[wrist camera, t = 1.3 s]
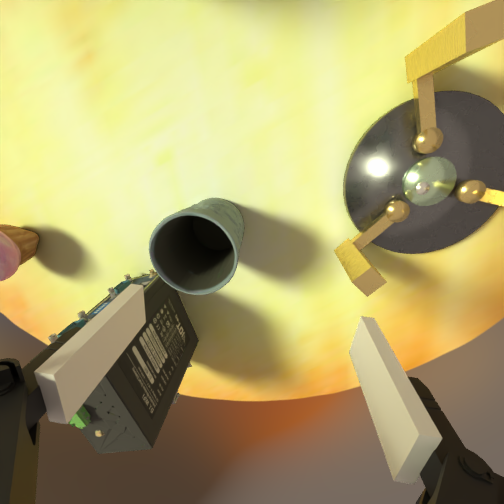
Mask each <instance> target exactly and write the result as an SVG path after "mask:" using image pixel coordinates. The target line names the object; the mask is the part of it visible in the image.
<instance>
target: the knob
mask: <svg viewBox="0 0 504 504" xmlns="http://www.w3.org/2000/svg"><path fill="white" fill-rule="evenodd" d="M409 213H410V208H409V205H408V204H407V203H405V202H403V201H401V200H392V201H390V202H388V203H387V204H386V205H385V207H384V210H383V213H382V214H381V215H380V216H379V217H378V218H376V219H375V220H374V221H373V222H372V223H371V224H369V225H368V226H367V227H366V228H365V229H363V230H362V231H361V232H360V233H359V234H358V235H356V236H355V237H354V238H353V239H352V240H350V239H349V238H348V239H347V240H346V241H344V242H343V243H342V244H341V245H340V246H339V247H337V248H336V249H335V250H334V251H335V253H336V255H337V257H338V258H339V260H340V262H341V264H342V266H343V267H344V269H345V271H346V273H347V275H348V276H349V278H350V280H351V282H352V283H353V284H354V285H355V286H356V287H357V288H359V289H360V290H361V291H362V292H363V293H364V294H365V295H366V296H367V297H368V296H369V295H370V294H372V293H373V292H374V291H376V290H377V289H378V288H380V287H381V286H382V285H384V284H385V283H386V280H385V279H384V278H383V277H382V276H381V274H380V273H379V272H378V271H377V270H376V268H375V267H374V266H373V265H372V264H371V262H370V261H369V260H368V259H367V257H366V256H365V255H364V254H363V253H362V251H361V249H362V248H364V247H365V246H366V245H367V244H368V243H370V242H371V241H372V240H373V239H375V238H376V237H377V236H378V235H379V234H381V233H382V232H383V231H384V230H385V229H387V228H388V227H389V226H390V225H392V224H393V223H394V222H395V223H398V222H401V221H403V220H405V219H406V218H407V217H408V215H409Z"/></svg>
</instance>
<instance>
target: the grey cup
mask: <svg viewBox="0 0 504 504" xmlns="http://www.w3.org/2000/svg"><path fill="white" fill-rule="evenodd" d="M243 234H244V221H243V217H242V215H241V213H240V212H239V210H238V209H237V208H236V207H235V206H234V205H233V204H232V203H230V202H228V201H226V200H224V199H220V198H209V199H205V200H203V201H201V202H199V203H198V204H194V205H192V206H191V207H189V208H186V209H183V210H181V211H179V212H177V213H174V214H172V215H170V216H168V217H166V218H165V219H163V220H162V221H161V222H160V223H159V224H158V225H157V227H156V228H155V229H154V231H153V233H152V235H151V238H150V243H149V254H150V259H151V262H152V264H153V267H154V268H155V270H156V272H157V273H158V275H159V276H160V277H161V278H162V279H163V280H164V281H165V282H166V283H167V284H169V285H170V286H171V287H173V288H175V289H177V290H179V291H181V292H184V293H187V294H193V295H206V294H209V293H213V292H215V291H217V290H219V289H221V288H222V287H223V286H225V285H226V284H227V283H228V282H229V281H230V280H231V278H232V277H233V275H234V273H235V271H236V268H237V264H238V257H239V250H240V246H241V243H242V238H243Z"/></svg>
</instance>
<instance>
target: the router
mask: <svg viewBox="0 0 504 504" xmlns="http://www.w3.org/2000/svg"><path fill="white" fill-rule="evenodd" d="M150 273H151V274H148V275H144V276H140V277H135V278H131V277H130V275H129V274H127V275H125V279H126V281H123V282H121V283H120V284H118V285H117V286H116V287H115V288H114V289H113V287H111V288H109V289H108V291H109V293H110V294H109V295H108V296H107V297H106V298H105V299H103V300H102V301H101V302H100V303H99V304H97V305H96V306H95V307H94V308H93V309H91V310H90V311H89V312H88V313H87V314H85V311H81V312H79V313H78V317H79V319H80V320H78V321H75V322H73V323H71V324H70V325H69V326H68V327H66V328H65V329H64V330H63V331H62V332H60V333H59V334H58V335H56V334H52V335H50V336H49V337H48V338H49V340H50V341H51V344H52V343H54V342H55V340H57V339H58V338H59V337H60V336H61V335H62V334H64V333H65V332H67V331H69V330H71V329H73V328H75V327H80V328H83V327H84V326H85V325H86V324H87V323H88V322H89V321H90V320H92V319H93V318H94V317H95V316H96V315H97V314H98V313H99V312H100V311H102V310H103V309H104V308H105V307H106V306H107V305H108V304H109V303H110V302H111V301H113V300H114V299H115V298H116V297H117V296H118V295H119V294H120V293H121V292H122V291H124V290H125V289H126V288H127V287H128V286H129V285H130V284H136V285H143V291H144V304H145V317H146V323H145V324H144V325H143V327H142V328H141V329H140V330H139V332H138V333H137V334H136V336H135V337H134V338H133V339H132V341H131V342H130V343H129V345H128V346H127V347H126V349H125V350H124V351H123V352H122V354H121V355H120V356H119V358H118V359H117V360H116V362H115V363H114V364H113V365H112V367H111V368H110V369H109V371H108V372H107V373H106V375H105V376H104V377H103V378H102V380H101V381H100V382H99V384H98V385H97V386H96V387H95V389H94V390H93V391H92V393H91V394H90V395H89V397H88V398H87V399H86V400H85V402H84V403H83V404H82V406H81V407H80V408H79V410H78V411H77V412H76V413H75V415H74V416H73V417H72V419H71V420H70V421H69V424H71V425H72V427H73V426H76V427H78V428H79V429H80V430H81V432H82V433H83V434H84V435H85V437H86V438H87V439H88V441H89V442H90V443H91V445H92V446H93V447H94V449H95V450H96V451H97V452H98V454H99V453H112V452H123V451H135V450H146V449H152V448H153V445H154V444H155V441H156V439H157V437H158V434H159V432H160V430H161V427H162V425H163V422H164V420H165V418H166V416H167V413H168V410H169V409H170V406H171V404H176V401H177V399H178V397H180V394H179V393H177V392H178V389H179V386H180V384H181V382H182V379H183V377H184V374H185V372H186V370H187V367H191V366H192V365H191V364H190V360H191V357H192V355H193V353H194V350H195V348H196V346H197V343H198V341H199V340H198V338H197V336H196V333H195V331H194V329H193V327H192V325H191V322H190V320H189V318H188V316H187V313H186V311H185V309H184V307H183V304H182V302H181V300H180V298H179V295H178V293H177V291H176V289H175V288H173V287H171V286H170V285H169V284H167V283H166V282H165V281H164V280H163V279H162V278H161V277H160V276H159V275H158V273H157V272H155V271H154V270H153V269H152V270H150ZM57 336H58V337H57ZM51 344H50V345H51ZM45 349H47V348H45ZM45 349H44V350H45ZM44 350H43V351H44ZM40 353H41V352H40ZM40 353H39V354H40ZM39 354H38V355H39ZM38 355H37V356H38ZM37 356H36V357H37ZM33 359H34V358H33ZM33 359H32V360H33ZM32 360H31V361H32ZM31 361H30V362H31Z"/></svg>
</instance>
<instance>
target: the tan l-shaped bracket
mask: <svg viewBox="0 0 504 504" xmlns="http://www.w3.org/2000/svg"><path fill="white" fill-rule="evenodd" d="M502 39H504V0H495V1H492V2H490V3H487V4H485V5H482V6H479V7H477V8H474V9H472V10H469V11H467V12H465V13H463V14H462V15H461V16H459V17H458V18H457V19H455V20H454V21H453V22H451V23H450V24H449V25H447V26H446V27H444V28H443V29H442V30H440V31H439V32H438V33H436V34H435V35H434V36H432V37H431V38H430V39H428V40H427V41H426V42H424V43H423V44H422V45H420V46H419V47H418V48H416V49H415V50H414V51H412V52H411V53H410V54H408V55H407V56H406V57H405V62H406V72H407V83H410V82H412V84H413V95H414V106H415V117H416V128H417V133H416V135H415V136H414V138H413V141H412V147H413V149H414V150H415V151H416V152H417V153H424V154H428V153H432V152H434V151H436V150H437V149H438V148H439V147H440V146H441V144H442V142H443V133H442V131H441V130H440V129H438V128H436V114H435V99H434V83H433V74H434V73H436V72H438V71H440V70H442V69H444V68H446V67H448V66H450V65H452V64H454V63H456V62H458V61H460V60H462V59H464V58H466V57H468V56H470V55H472V54H474V53H476V52H478V51H480V50H482V49H484V48H486V47H488V46H490V45H492V44H494V43H496V42H498V41H500V40H502Z"/></svg>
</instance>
